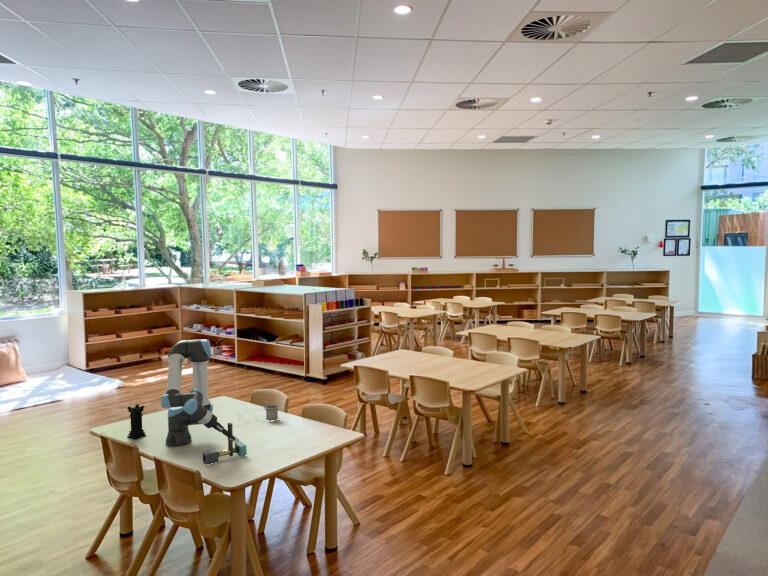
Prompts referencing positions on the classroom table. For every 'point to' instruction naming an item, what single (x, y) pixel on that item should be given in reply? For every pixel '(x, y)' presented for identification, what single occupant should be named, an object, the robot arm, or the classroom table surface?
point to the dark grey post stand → (229, 445)
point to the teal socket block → (241, 449)
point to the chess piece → (136, 422)
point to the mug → (271, 412)
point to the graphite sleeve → (210, 456)
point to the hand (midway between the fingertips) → (236, 441)
